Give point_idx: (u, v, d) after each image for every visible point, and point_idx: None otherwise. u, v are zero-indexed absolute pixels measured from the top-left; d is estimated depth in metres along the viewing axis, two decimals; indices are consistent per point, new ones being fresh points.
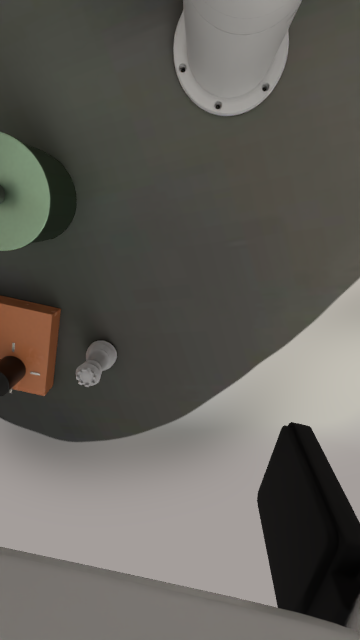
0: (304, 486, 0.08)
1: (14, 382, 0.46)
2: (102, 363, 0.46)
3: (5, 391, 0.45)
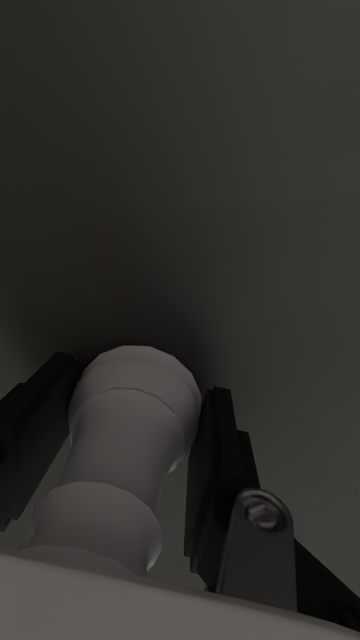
0: (207, 434, 0.09)
1: None
2: (156, 480, 0.08)
3: None
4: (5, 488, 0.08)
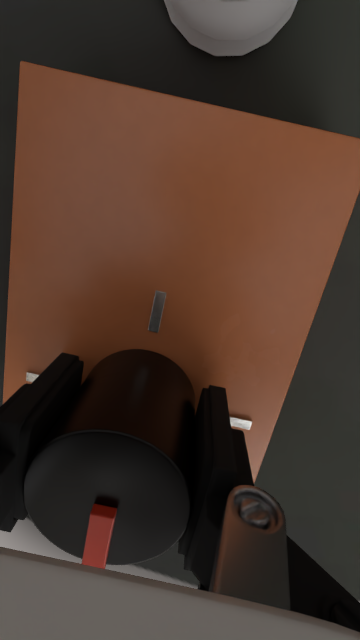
0: (202, 432, 0.09)
1: None
2: None
3: (163, 543, 0.08)
4: (12, 488, 0.08)
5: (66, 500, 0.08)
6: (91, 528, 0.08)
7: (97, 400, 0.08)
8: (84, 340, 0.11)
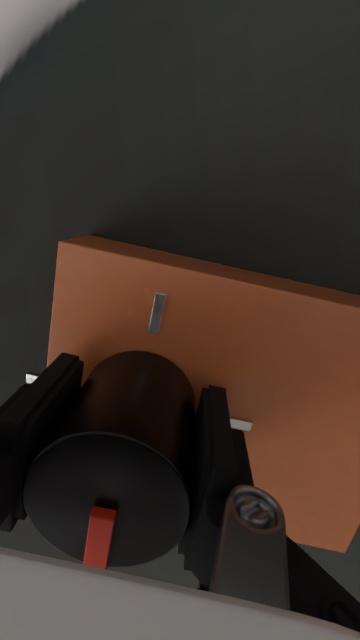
0: (202, 432, 0.09)
1: None
2: None
3: (164, 545, 0.08)
4: (12, 488, 0.08)
5: (66, 503, 0.08)
6: (91, 531, 0.08)
7: (96, 402, 0.08)
8: (202, 355, 0.11)
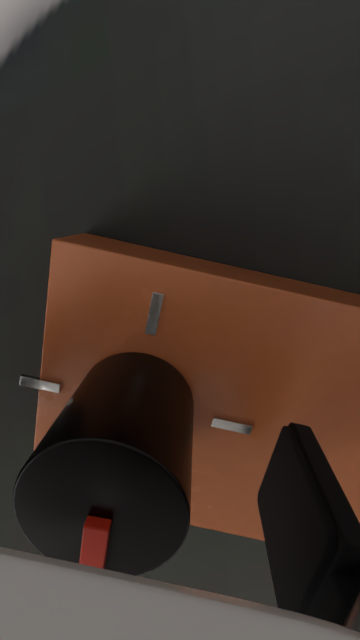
0: (304, 486, 0.08)
1: None
2: None
3: (162, 555, 0.08)
4: None
5: (59, 513, 0.07)
6: (85, 541, 0.07)
7: (89, 407, 0.08)
8: (201, 356, 0.11)
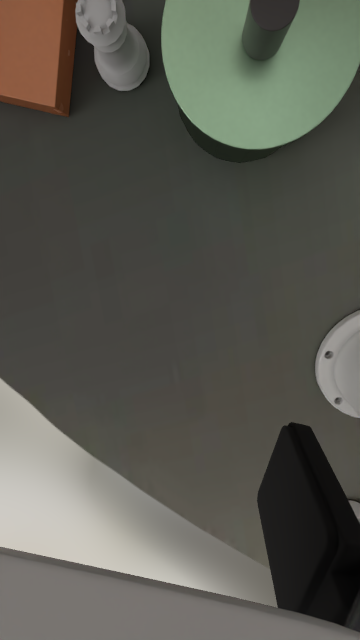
0: (304, 486, 0.08)
1: None
2: (117, 55, 0.24)
3: None
4: None
5: None
6: None
7: None
8: None
